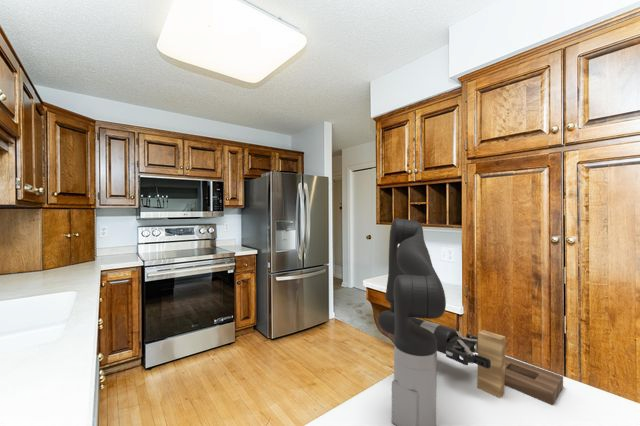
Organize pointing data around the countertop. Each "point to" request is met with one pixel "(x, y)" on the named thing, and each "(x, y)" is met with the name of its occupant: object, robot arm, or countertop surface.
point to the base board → (532, 380)
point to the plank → (495, 351)
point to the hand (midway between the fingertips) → (496, 358)
